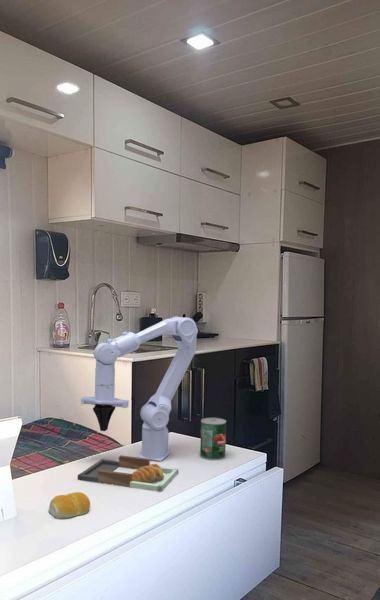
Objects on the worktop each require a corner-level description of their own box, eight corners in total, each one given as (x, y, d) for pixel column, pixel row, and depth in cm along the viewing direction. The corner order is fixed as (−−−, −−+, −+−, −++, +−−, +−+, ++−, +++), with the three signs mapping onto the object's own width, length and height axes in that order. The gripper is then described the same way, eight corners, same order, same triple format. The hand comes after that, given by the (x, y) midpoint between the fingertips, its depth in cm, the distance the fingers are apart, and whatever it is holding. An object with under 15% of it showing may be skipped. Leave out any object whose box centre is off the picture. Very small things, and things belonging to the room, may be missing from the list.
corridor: (120, 465, 143) (120, 455, 143) (149, 469, 140) (149, 458, 140) (98, 482, 130) (98, 471, 130) (129, 487, 127) (130, 475, 127)
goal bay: (149, 469, 140) (149, 465, 140) (178, 472, 138) (178, 468, 138) (129, 487, 127) (129, 482, 127) (160, 491, 125) (161, 486, 125)
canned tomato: (225, 460, 149) (225, 424, 149) (199, 459, 150) (199, 423, 150) (225, 452, 157) (226, 418, 157) (201, 451, 158) (201, 417, 158)
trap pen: (101, 463, 145) (101, 459, 145) (120, 465, 143) (120, 461, 143) (77, 479, 131) (77, 475, 131) (98, 482, 130) (98, 478, 130)
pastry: (138, 489, 126) (138, 474, 126) (122, 482, 131) (122, 467, 131) (166, 480, 133) (166, 466, 133) (150, 473, 138) (150, 460, 138)
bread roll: (96, 512, 112) (96, 494, 112) (59, 523, 107) (59, 504, 107) (79, 500, 119) (79, 483, 119) (43, 509, 113) (44, 492, 113)
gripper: (76, 384, 144) (75, 431, 144) (121, 388, 140) (120, 436, 140) (87, 380, 151) (86, 425, 151) (131, 384, 146) (130, 430, 146)
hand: (103, 430), depth 146 cm, fingers closed
